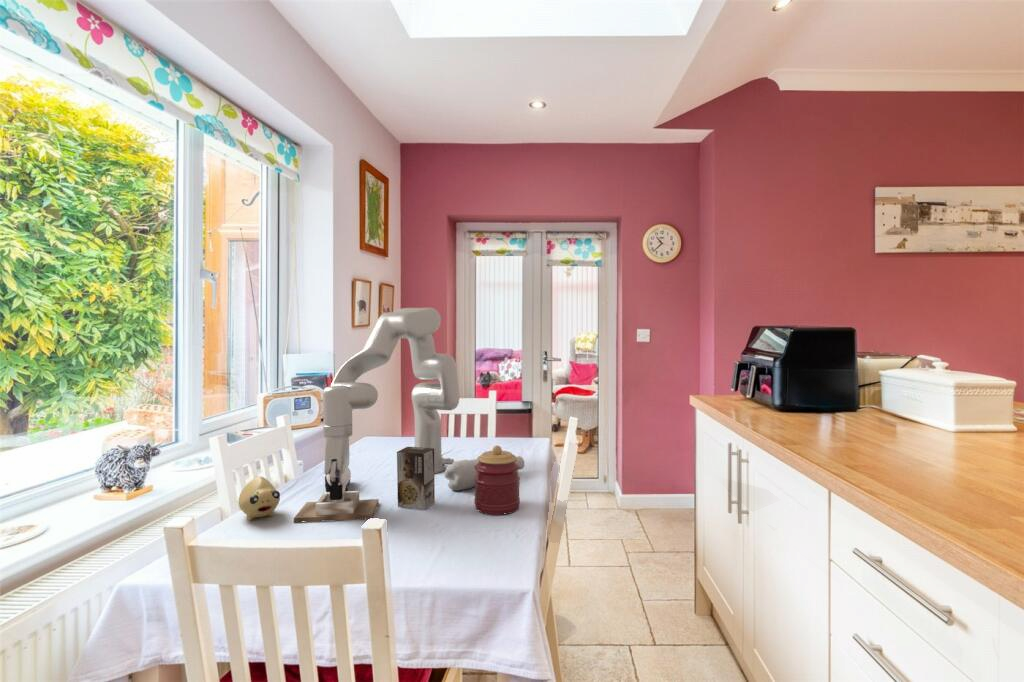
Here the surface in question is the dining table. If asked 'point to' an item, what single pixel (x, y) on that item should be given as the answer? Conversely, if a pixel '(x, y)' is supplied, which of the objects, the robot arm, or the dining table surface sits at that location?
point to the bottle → (466, 473)
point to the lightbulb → (342, 481)
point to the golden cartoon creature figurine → (258, 498)
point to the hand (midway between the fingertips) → (338, 494)
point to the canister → (497, 482)
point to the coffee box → (415, 477)
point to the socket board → (338, 508)
